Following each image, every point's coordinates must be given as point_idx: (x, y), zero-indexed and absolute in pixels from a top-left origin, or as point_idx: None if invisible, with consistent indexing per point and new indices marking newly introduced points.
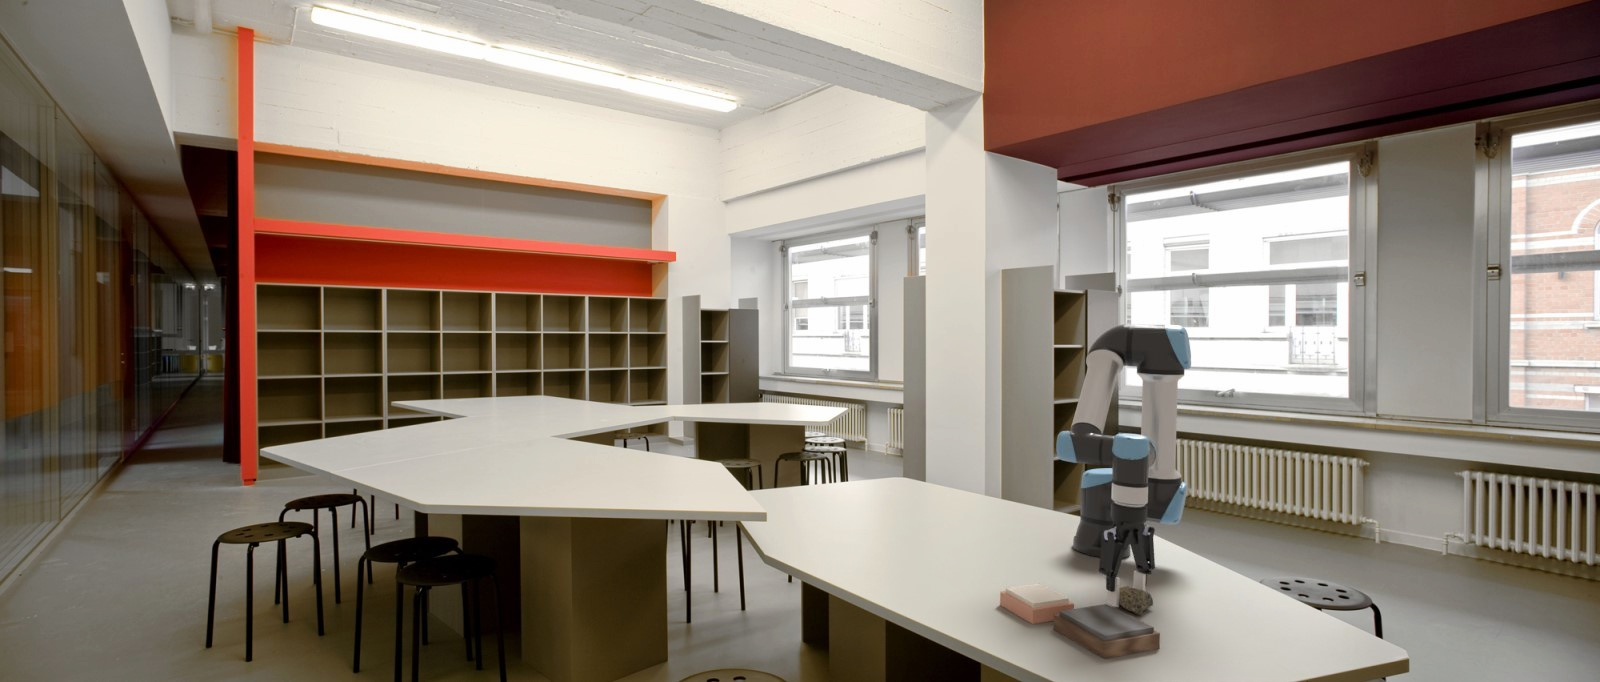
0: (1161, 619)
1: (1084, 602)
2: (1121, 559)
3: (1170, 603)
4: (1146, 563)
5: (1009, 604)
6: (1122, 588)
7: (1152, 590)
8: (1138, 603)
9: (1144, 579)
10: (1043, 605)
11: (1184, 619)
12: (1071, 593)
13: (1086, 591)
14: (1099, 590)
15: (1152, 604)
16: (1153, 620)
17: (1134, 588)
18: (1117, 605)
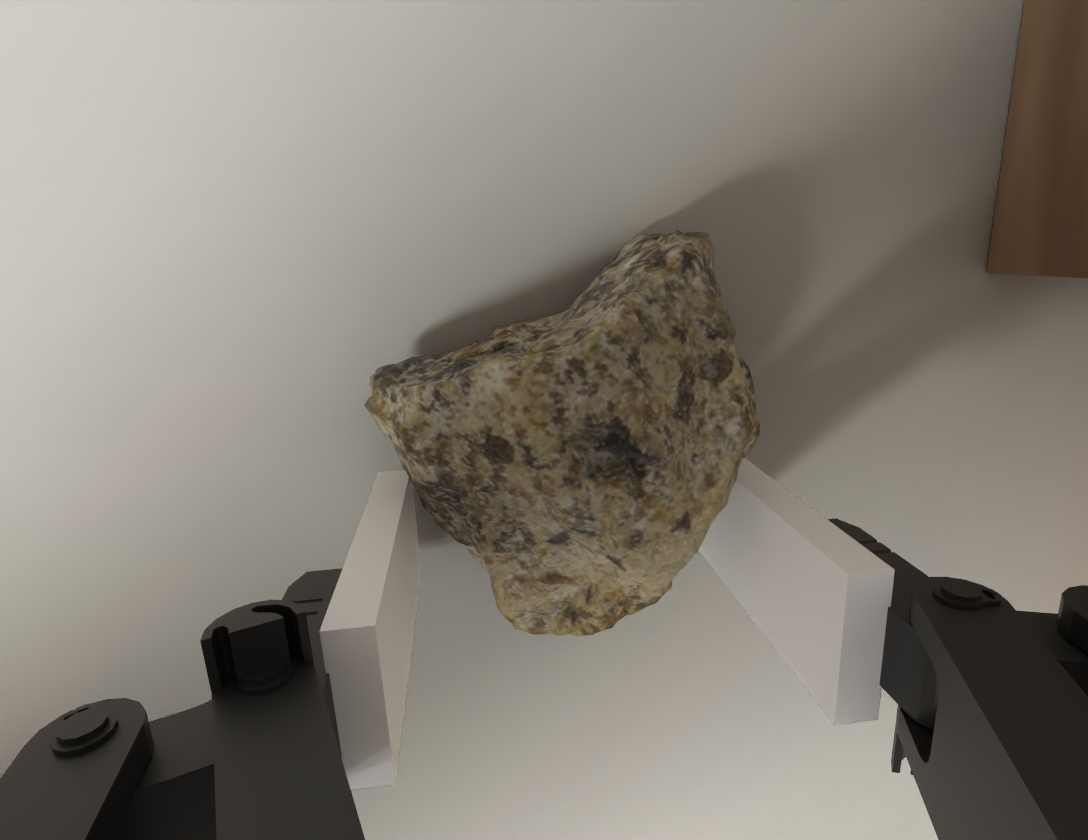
0: (481, 141)
1: None
2: (1063, 827)
3: (73, 446)
4: (238, 786)
5: None
6: (705, 529)
7: (28, 735)
8: (709, 253)
9: (356, 586)
10: None
11: (235, 63)
12: (781, 777)
13: (640, 793)
14: (522, 797)
15: (384, 368)
16: (579, 146)
17: (576, 489)
18: None
